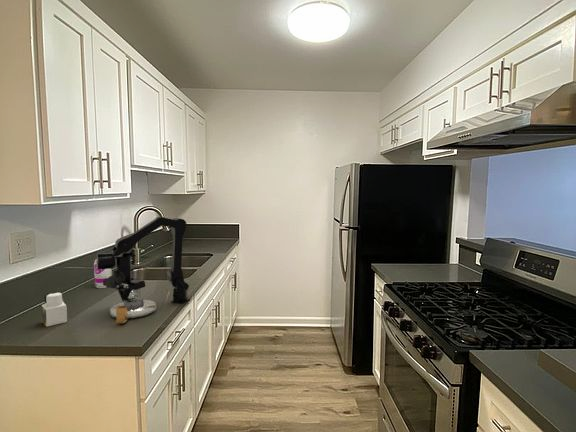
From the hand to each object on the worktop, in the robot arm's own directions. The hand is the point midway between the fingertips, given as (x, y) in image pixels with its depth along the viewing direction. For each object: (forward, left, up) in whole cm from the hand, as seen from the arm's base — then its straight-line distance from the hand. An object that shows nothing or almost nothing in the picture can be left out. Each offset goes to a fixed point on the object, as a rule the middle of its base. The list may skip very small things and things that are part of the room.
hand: (124, 302), depth 153 cm
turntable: (+2, +6, -3) cm, 7 cm away
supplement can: (-25, -41, -4) cm, 48 cm away
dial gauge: (-10, -5, -4) cm, 12 cm away
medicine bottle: (+20, -16, -4) cm, 26 cm away
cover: (0, +5, -1) cm, 5 cm away
